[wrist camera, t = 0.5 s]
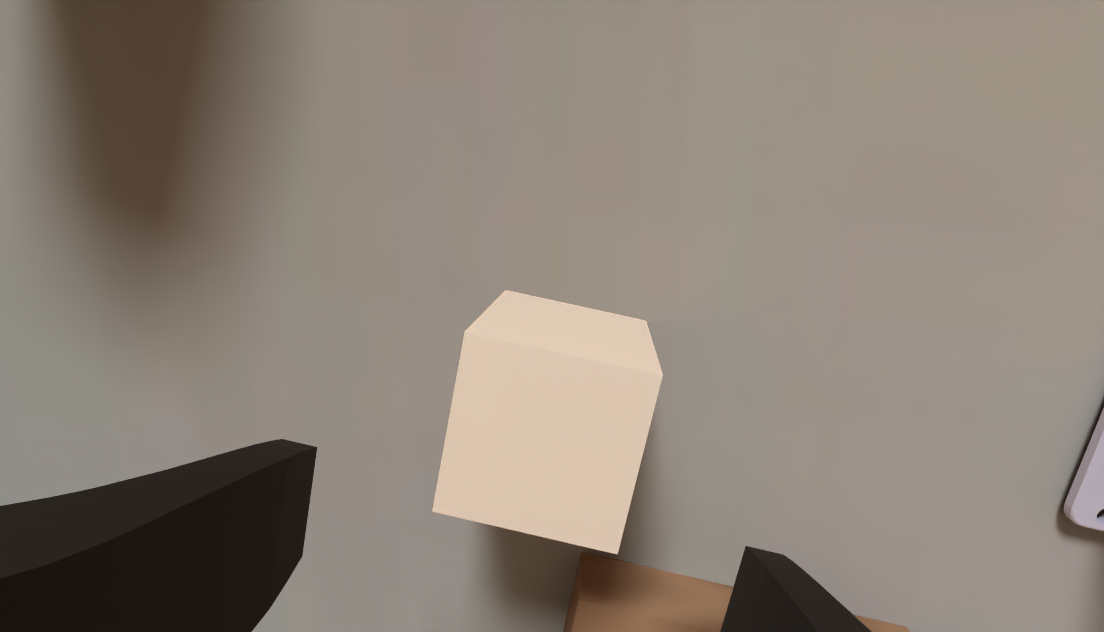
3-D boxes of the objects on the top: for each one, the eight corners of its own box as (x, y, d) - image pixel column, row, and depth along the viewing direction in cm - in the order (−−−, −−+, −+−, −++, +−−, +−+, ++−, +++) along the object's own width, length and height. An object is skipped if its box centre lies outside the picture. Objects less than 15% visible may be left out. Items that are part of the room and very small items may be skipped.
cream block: (646, 320, 20) (662, 374, 14) (614, 451, 21) (617, 554, 15) (506, 289, 20) (464, 331, 14) (480, 421, 21) (432, 511, 15)
